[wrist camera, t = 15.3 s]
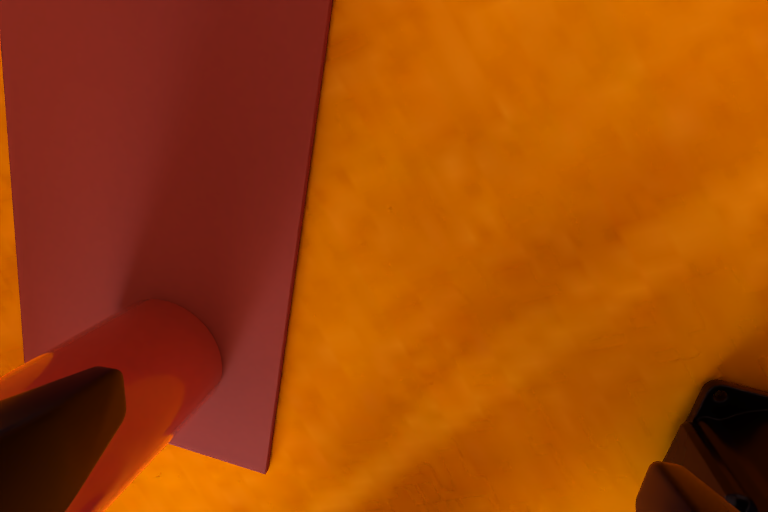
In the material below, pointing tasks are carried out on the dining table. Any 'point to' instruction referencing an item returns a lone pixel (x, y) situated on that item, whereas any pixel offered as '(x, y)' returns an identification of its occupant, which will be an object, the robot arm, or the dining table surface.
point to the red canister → (134, 385)
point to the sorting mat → (166, 179)
